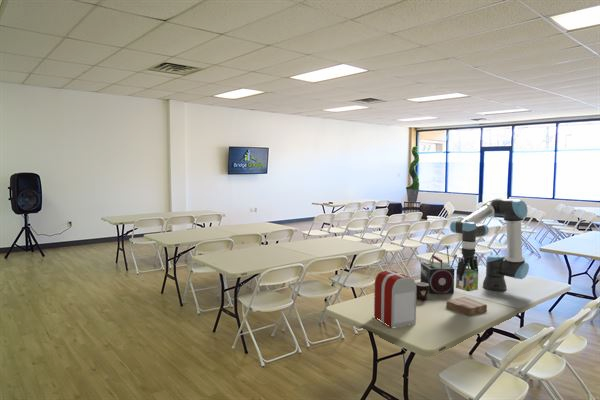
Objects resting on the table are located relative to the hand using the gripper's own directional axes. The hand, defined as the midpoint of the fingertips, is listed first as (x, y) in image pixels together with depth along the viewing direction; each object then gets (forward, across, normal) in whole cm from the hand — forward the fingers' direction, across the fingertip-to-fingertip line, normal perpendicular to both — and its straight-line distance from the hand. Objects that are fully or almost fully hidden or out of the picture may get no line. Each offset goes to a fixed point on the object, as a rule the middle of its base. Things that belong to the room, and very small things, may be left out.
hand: (466, 284), depth 237 cm
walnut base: (+15, 0, 0) cm, 15 cm away
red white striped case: (+16, +50, -7) cm, 53 cm away
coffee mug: (+15, +12, -27) cm, 33 cm away
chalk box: (+3, 0, 0) cm, 3 cm away
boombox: (+15, -13, -35) cm, 40 cm away
